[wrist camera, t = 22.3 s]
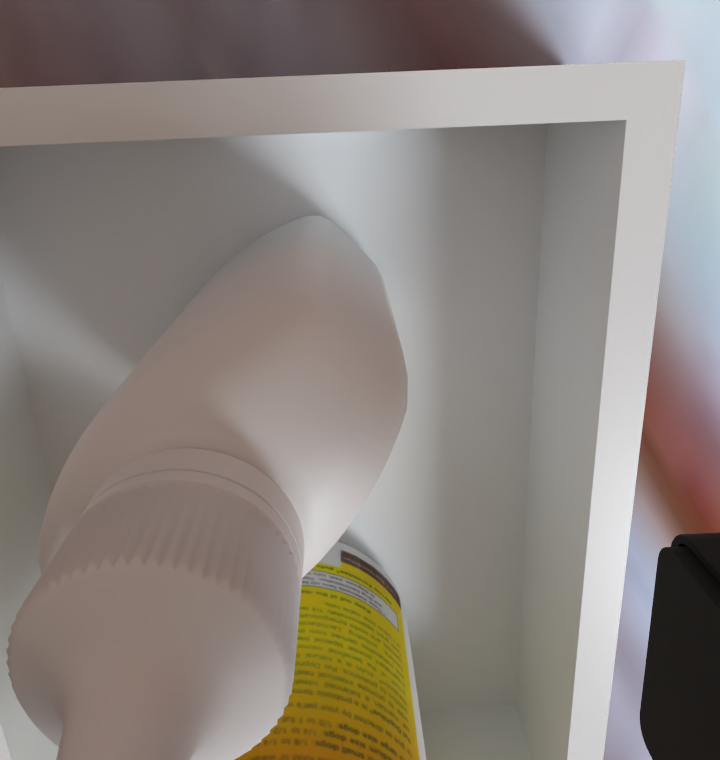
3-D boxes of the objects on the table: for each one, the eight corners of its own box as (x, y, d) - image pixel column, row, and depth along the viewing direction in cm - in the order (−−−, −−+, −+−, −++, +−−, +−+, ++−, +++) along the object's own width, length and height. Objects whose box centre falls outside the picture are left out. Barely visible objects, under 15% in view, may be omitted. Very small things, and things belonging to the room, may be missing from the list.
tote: (533, 702, 21) (590, 868, 16) (90, 726, 21) (19, 901, 16) (576, 79, 15) (685, 59, 10) (-57, 105, 15) (-243, 98, 10)
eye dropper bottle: (412, 377, 16) (576, 950, 5) (190, 441, 17) (-116, 1100, 5) (359, 197, 15) (422, 434, 3) (117, 272, 15) (-519, 701, 4)
